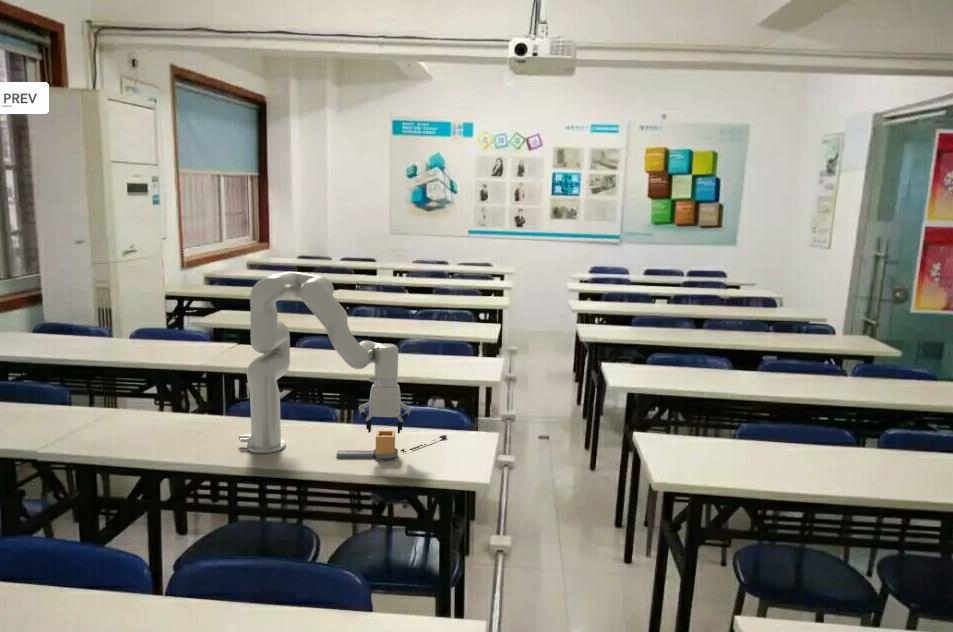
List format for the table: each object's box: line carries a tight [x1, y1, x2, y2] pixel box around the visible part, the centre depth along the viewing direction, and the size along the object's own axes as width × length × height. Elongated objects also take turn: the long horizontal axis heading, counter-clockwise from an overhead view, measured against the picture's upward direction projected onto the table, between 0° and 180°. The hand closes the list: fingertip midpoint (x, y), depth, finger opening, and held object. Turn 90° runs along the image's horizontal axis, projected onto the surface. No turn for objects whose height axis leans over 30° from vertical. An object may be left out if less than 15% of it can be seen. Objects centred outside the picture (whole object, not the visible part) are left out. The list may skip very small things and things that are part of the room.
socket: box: [375, 429, 396, 454], centre depth 221 cm, size 6×6×6 cm
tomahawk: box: [400, 434, 448, 453], centre depth 233 cm, size 21×7×1 cm, turn 138°
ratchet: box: [336, 435, 399, 462], centre depth 221 cm, size 20×8×7 cm, turn 94°
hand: (384, 431), depth 221 cm, fingers open, 9 cm apart
